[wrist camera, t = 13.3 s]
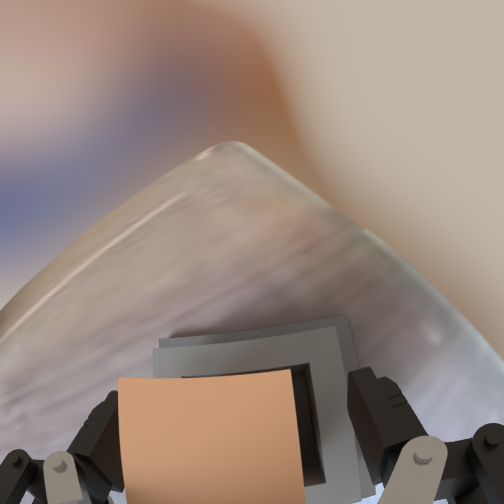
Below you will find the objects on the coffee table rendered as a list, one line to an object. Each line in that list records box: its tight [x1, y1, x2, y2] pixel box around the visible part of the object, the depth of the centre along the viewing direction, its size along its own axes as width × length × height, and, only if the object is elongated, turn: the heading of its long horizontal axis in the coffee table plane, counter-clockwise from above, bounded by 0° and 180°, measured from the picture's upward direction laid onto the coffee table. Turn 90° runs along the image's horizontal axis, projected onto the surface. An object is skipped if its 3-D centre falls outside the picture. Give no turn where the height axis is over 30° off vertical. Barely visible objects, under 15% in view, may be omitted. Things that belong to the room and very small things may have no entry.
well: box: [153, 314, 376, 504], centre depth 13 cm, size 13×13×6 cm
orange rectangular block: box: [118, 369, 306, 504], centre depth 9 cm, size 4×4×12 cm
